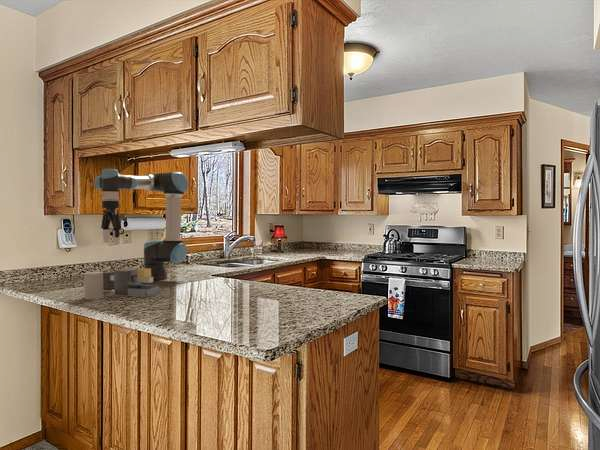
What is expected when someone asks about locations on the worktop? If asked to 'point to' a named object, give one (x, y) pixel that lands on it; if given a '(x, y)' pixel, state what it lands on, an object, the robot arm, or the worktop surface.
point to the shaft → (109, 280)
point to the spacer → (144, 272)
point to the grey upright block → (93, 285)
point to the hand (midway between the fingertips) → (111, 243)
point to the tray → (144, 291)
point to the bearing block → (125, 280)
